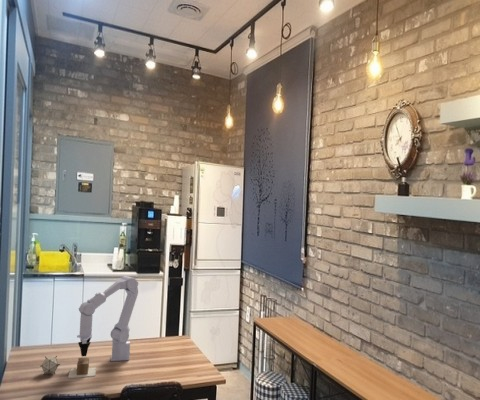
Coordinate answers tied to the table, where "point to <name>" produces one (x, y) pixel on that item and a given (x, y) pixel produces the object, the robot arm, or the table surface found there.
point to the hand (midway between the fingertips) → (84, 353)
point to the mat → (74, 375)
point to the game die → (50, 365)
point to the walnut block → (83, 366)
